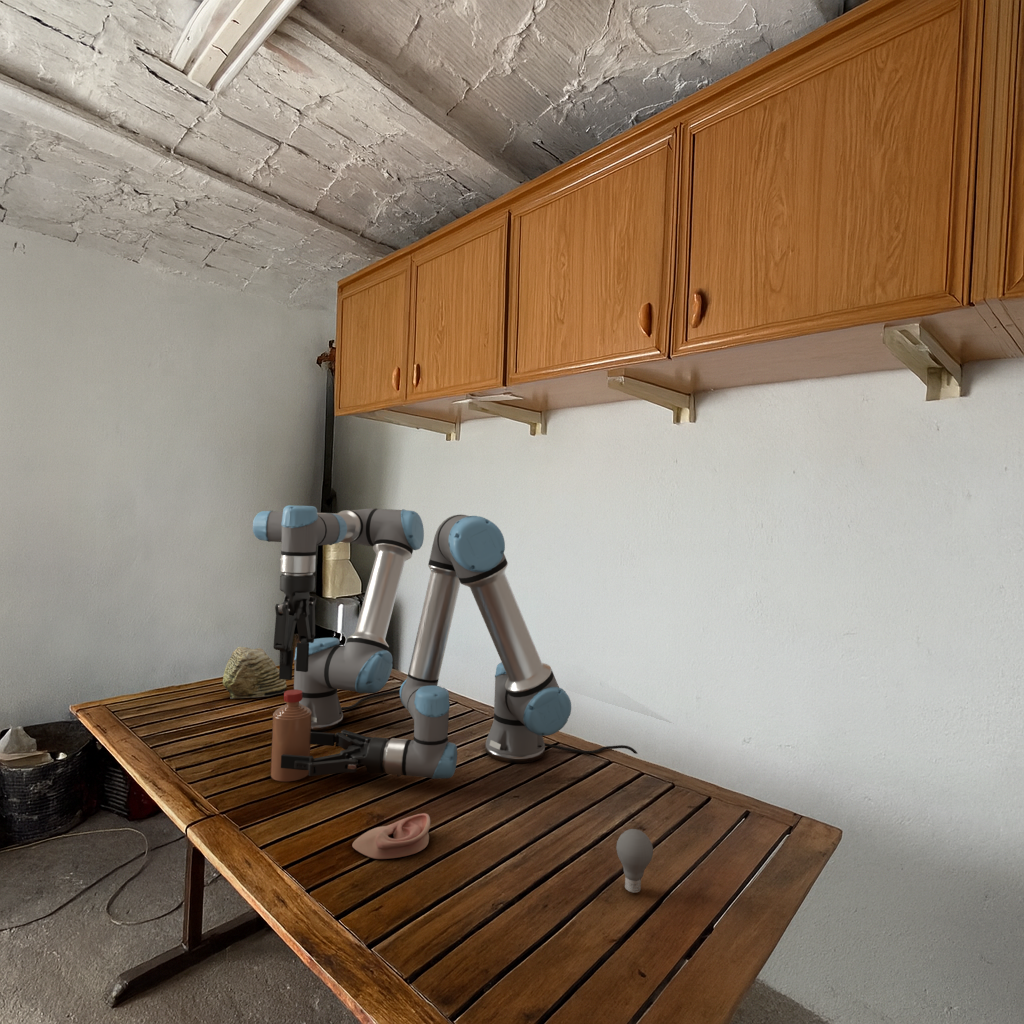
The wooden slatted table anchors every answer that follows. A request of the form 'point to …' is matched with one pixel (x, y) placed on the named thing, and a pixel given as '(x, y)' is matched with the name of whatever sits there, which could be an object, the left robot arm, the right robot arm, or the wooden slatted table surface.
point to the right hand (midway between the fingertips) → (295, 748)
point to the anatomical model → (395, 838)
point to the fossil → (252, 674)
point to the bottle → (290, 739)
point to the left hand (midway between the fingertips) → (293, 674)
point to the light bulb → (634, 857)
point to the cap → (292, 696)
